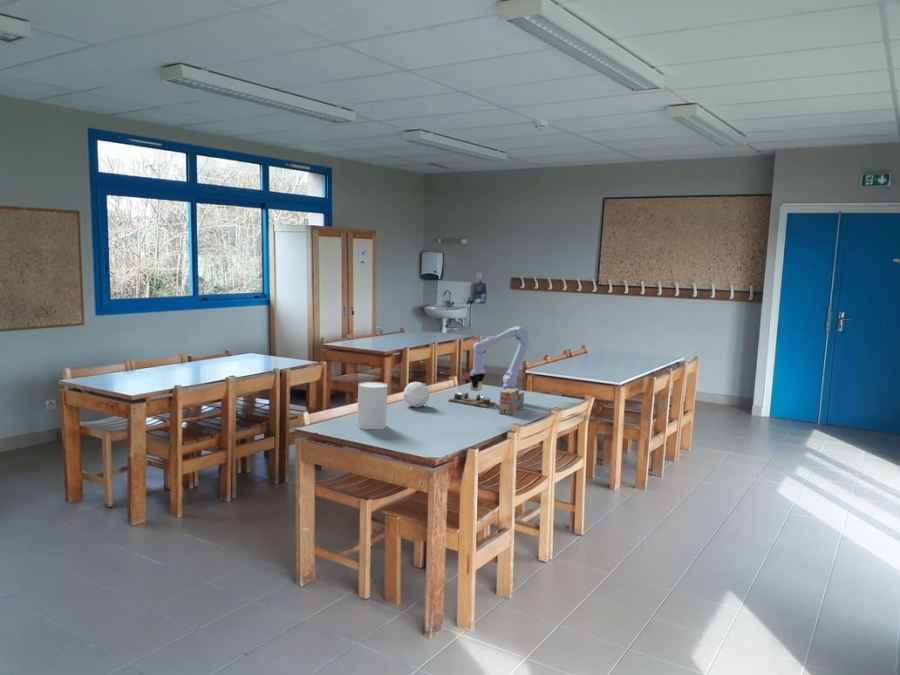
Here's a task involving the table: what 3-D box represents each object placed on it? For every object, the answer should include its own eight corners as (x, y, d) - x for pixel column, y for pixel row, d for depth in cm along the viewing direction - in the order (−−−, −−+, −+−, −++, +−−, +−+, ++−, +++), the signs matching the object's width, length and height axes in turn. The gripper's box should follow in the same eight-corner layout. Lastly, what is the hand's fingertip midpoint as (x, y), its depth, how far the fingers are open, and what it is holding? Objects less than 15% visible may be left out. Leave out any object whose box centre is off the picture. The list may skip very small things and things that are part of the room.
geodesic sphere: (437, 394, 368) (423, 373, 367) (434, 399, 353) (419, 377, 353) (415, 409, 370) (401, 387, 369) (411, 415, 356) (396, 392, 355)
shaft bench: (495, 404, 377) (495, 399, 377) (485, 408, 367) (485, 402, 367) (459, 398, 390) (459, 393, 389) (448, 401, 379) (448, 396, 379)
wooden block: (481, 390, 382) (482, 381, 382) (478, 391, 379) (478, 382, 378) (474, 388, 385) (474, 380, 384) (470, 389, 382) (471, 381, 381)
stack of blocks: (512, 406, 375) (514, 385, 373) (523, 408, 372) (524, 386, 371) (499, 413, 356) (500, 391, 354) (510, 415, 353) (511, 392, 352)
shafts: (490, 402, 374) (491, 396, 374) (487, 403, 371) (488, 397, 371) (457, 396, 385) (457, 390, 385) (453, 397, 382) (454, 391, 382)
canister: (387, 429, 311) (389, 387, 309) (358, 429, 308) (359, 387, 306) (384, 422, 324) (385, 382, 322) (356, 422, 322) (357, 381, 319)
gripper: (478, 361, 388) (476, 384, 390) (465, 363, 376) (464, 387, 377) (489, 362, 384) (487, 386, 386) (476, 365, 372) (475, 389, 374)
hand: (476, 386), depth 382 cm, fingers closed on wooden block, 4 cm apart
